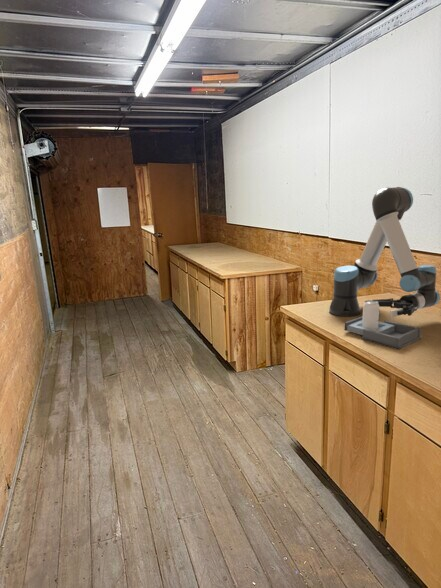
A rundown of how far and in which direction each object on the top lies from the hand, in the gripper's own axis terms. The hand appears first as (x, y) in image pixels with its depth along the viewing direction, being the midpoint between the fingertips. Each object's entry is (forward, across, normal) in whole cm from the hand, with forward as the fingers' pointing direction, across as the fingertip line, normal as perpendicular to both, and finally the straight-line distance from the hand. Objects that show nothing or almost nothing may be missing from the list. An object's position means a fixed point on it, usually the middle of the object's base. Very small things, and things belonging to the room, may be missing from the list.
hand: (377, 310), depth 168 cm
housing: (+1, -8, -10) cm, 13 cm away
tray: (+3, +1, -9) cm, 10 cm away
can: (+3, +1, -8) cm, 9 cm away
